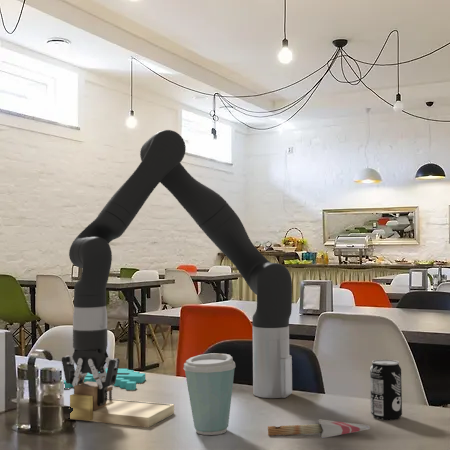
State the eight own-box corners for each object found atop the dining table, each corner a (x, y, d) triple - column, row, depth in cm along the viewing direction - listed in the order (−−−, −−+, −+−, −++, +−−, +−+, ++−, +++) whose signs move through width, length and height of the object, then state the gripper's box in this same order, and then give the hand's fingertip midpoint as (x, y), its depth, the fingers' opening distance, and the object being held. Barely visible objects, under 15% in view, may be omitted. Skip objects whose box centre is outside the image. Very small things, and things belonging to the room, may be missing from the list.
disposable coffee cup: (218, 441, 122) (217, 362, 123) (172, 433, 128) (172, 358, 129) (245, 428, 131) (245, 354, 132) (202, 421, 137) (202, 350, 138)
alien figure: (134, 391, 168) (150, 376, 188) (134, 383, 168) (150, 368, 188) (60, 390, 170) (84, 375, 190) (60, 382, 170) (84, 368, 190)
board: (174, 413, 144) (174, 403, 144) (148, 427, 133) (148, 417, 133) (98, 405, 151) (98, 397, 151) (67, 418, 140) (67, 409, 140)
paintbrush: (370, 421, 124) (267, 426, 125) (371, 436, 124) (268, 440, 125) (367, 416, 128) (267, 421, 129) (368, 430, 128) (268, 435, 129)
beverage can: (403, 414, 141) (402, 359, 142) (401, 422, 135) (400, 365, 135) (372, 412, 143) (371, 358, 144) (369, 419, 137) (368, 363, 138)
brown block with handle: (120, 406, 148) (120, 377, 148) (89, 420, 136) (89, 389, 137) (101, 405, 150) (101, 376, 150) (69, 418, 138) (69, 387, 138)
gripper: (127, 326, 143) (127, 403, 142) (73, 323, 148) (73, 398, 147) (109, 330, 136) (109, 411, 135) (52, 327, 141) (52, 405, 140)
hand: (90, 403), depth 141 cm, fingers closed on brown block with handle, 5 cm apart
